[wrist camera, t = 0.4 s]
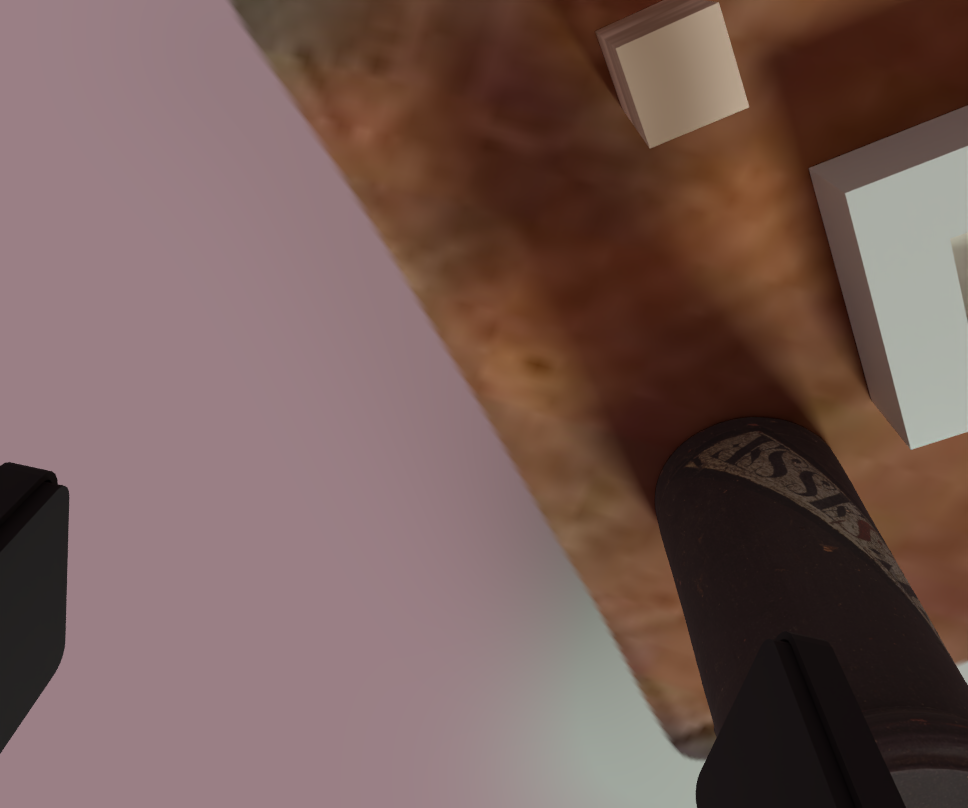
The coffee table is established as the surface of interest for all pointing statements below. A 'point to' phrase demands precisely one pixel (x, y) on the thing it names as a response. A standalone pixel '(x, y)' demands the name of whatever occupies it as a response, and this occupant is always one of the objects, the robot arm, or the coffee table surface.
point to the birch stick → (673, 68)
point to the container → (809, 592)
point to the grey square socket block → (906, 270)
